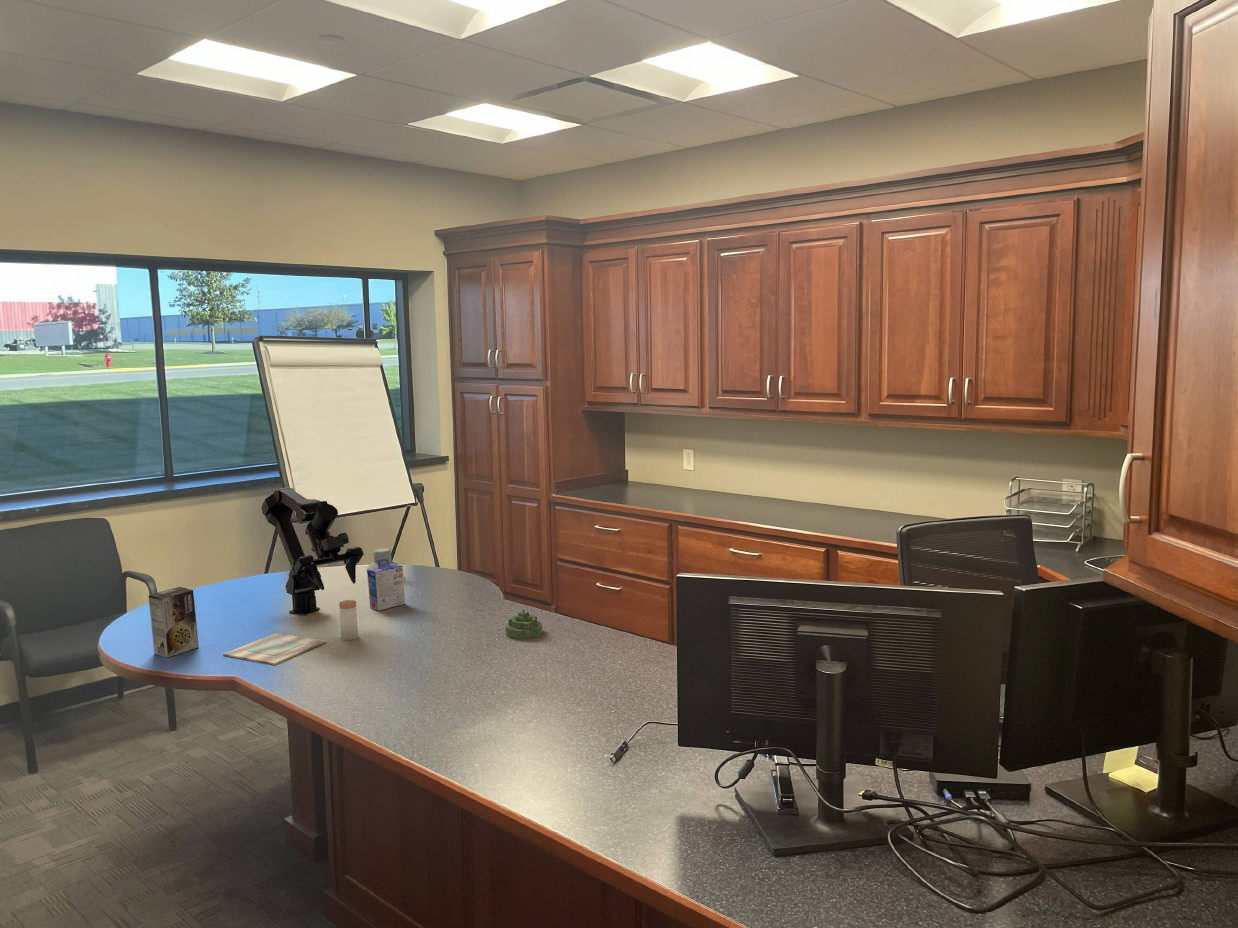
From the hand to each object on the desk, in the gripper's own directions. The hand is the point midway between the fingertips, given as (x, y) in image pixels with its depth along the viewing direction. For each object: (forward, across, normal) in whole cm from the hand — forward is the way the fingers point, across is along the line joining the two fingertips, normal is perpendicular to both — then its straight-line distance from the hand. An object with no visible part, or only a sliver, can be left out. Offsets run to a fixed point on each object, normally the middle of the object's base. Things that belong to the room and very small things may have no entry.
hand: (339, 586), depth 251 cm
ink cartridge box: (+2, +21, +18) cm, 27 cm away
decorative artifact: (+35, +35, -21) cm, 54 cm away
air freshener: (-18, +36, +42) cm, 58 cm away
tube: (+15, -1, +3) cm, 15 cm away
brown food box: (0, -39, +20) cm, 44 cm away
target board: (+11, -20, +6) cm, 24 cm away
